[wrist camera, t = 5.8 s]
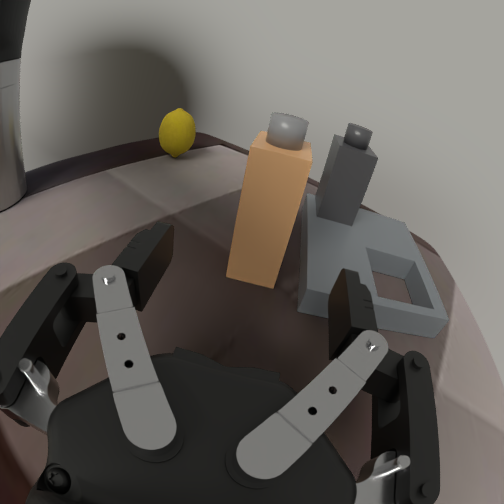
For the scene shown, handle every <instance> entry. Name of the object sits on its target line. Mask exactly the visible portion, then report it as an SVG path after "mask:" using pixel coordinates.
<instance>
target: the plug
mask: <svg viewBox="0 0 504 504" xmlns="http://www.w3.org/2000/svg"><path fill="white" fill-rule="evenodd" d="M308 124H309V122H308V121H306V120H304V119H302V118H299V117H296V116H293V115H288V114H283V113H272V114H271V119H270V123H269V128H268V132H264V131H260V133H259V134H258V136H257V137H256V139H255V140H254V142H253V143H252V145H251V146H250V151H249V156H248V161H247V166H246V171H245V176H244V181H243V186H242V191H241V197H240V202H239V207H238V213H237V218H236V223H235V229H234V234H233V240H232V245H231V251H230V256H229V262H228V267H227V273H226V277H228V278H232V279H236V280H240V281H244V282H248V283H252V284H256V285H260V286H264V287H268V288H272V289H273V288H274V285H275V282H276V279H277V276H278V273H279V270H280V267H281V263H282V260H283V257H284V254H285V251H286V248H287V245H288V241H289V238H290V235H291V232H292V229H293V225H294V222H295V219H296V216H297V212H298V209H299V206H300V202H301V199H302V196H303V192H304V189H305V186H306V182H307V179H308V175H309V172H310V169H311V165H312V152H311V143H309V142H305V141H304V139H305V135H306V131H307V127H308Z"/></svg>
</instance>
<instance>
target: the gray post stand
mask: <svg viewBox="0 0 504 504" xmlns="http://www.w3.org/2000/svg"><path fill="white" fill-rule="evenodd" d="M371 136H372V131H371V130H369V129H367V128H364V127H362V126H359V125H356V124H352V123H349V124H348V127H347V130H346V134H345V137H341V136H338V135H334V137H333V141H332V144H331V148H330V151H329V154H328V158H327V161H326V164H325V167H324V171H323V174H322V177H321V180H320V183H319V187H318V190H317V193H316V195H312V194H309V193H307V195H306V199H305V202H304V205H303V208H302V219H301V248H300V271H299V290H298V306H297V312H302V313H306V314H311V315H315V316H320V317H324V318H328V299H329V295H330V292H331V290H332V288H333V286H334V284H335V282H336V280H337V277H338V275H339V273H340V271H341V270H342V269H343V268H345V269H349V270H353V271H357V272H358V273H359V277H360V283H361V284H365V285H366V286H367V288H368V289H369V291H370V292H371V296H372V301H373V302H372V303H373V306H374V309H373V310H374V312H375V317H376V323H377V328H379V329H384V330H389V331H395V332H400V333H406V334H412V335H418V336H424V337H430V338H435V337H436V335H437V334H438V333H439V332H440V331H441V330H442V328H443V327H444V326H445V325H446V323H447V322H448V321H449V318H448V316H447V313H446V311H445V308H444V306H443V303H442V301H441V298H440V296H439V293H438V291H437V289H436V286H435V284H434V282H433V279H432V277H431V275H430V273H429V271H428V268H427V266H426V264H425V262H424V260H423V258H422V256H421V254H420V252H419V250H418V248H417V246H416V244H415V242H414V240H413V238H412V236H411V234H410V232H409V230H408V228H407V226H406V224H405V223H404V222H401V221H398V220H395V219H392V218H389V217H386V216H383V215H380V214H377V213H374V212H371V211H367V210H364V209H361V208H360V205H361V202H362V200H363V197H364V195H365V192H366V190H367V187H368V184H369V182H370V179H371V176H372V174H373V171H374V168H375V165H376V163H377V160H378V157H377V156H376V155H375V153H374V152H373V151H372V150H371V148H370V147H369V146H368V145H369V142H370V139H371ZM372 271H375V272H379V273H382V274H386V275H390V276H394V277H398V278H401V279H404V280H405V283H406V286H407V288H408V291H409V294H410V297H411V301H412V304H413V305H412V304H408V303H404V302H399V301H395V300H391V299H386V298H382V297H378V295H377V291H376V287H375V282H374V278H373V274H372Z"/></svg>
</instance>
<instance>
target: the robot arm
mask: <svg viewBox="0 0 504 504" xmlns="http://www.w3.org/2000/svg"><path fill="white" fill-rule="evenodd" d="M30 2H31V0H0V211H2V210H4V209H6V208H8V207H10V206H11V205H13V204H14V203H16V202H17V201H18V200H20V199H21V198H22V197H23V196H24V194H25V193H26V191H27V184H26V175H25V170H24V162H23V152H22V142H21V128H20V101H19V99H20V98H19V97H20V95H19V94H20V64H21V59H19V58H21V50H22V43H23V38H24V32H25V26H26V20H27V15H28V10H29V6H30ZM173 239H174V226H173V225H171V224H167V223H163V222H159V221H158V222H157V223H156V224H155V225H154V226H153V228H152V229H151V230H147V229H145V230H143V231H141V232H139V233H137V234H136V235H135V237H134V238H133V239H132V240H131V242H130V243H129V244H128V245H127V247H126V248H125V249H124V250H123V251H122V252H121V254H120V255H119V256H118V257H117V259H116V260H115V261H114V262H113V264H112V265H107V266H103V267H101V268H99V269H97V270H96V271H95V273H94V274H80V273H77V271H76V268H75V266H74V265H72V264H70V263H59V264H57V265H55V266H53V267H52V268H51V269H50V270H49V271H48V272H47V274H46V275H45V276H44V277H43V279H42V280H41V281H40V282H39V284H38V285H37V286H36V288H35V289H34V290H33V292H32V293H31V294H30V296H29V297H28V298H27V300H26V301H25V302H24V304H23V305H22V306H21V308H20V309H19V311H18V312H17V314H16V315H15V316H14V318H13V319H12V321H11V322H10V324H9V325H8V327H7V328H6V330H5V331H4V333H3V334H2V336H1V338H0V410H1V411H3V412H4V413H5V414H6V415H7V416H8V417H10V418H12V419H13V420H14V421H16V422H17V423H18V424H19V425H21V426H24V427H28V426H31V427H33V428H35V429H36V430H38V431H40V432H42V433H44V434H45V435H47V436H48V457H47V463H46V467H45V469H44V471H43V473H42V474H41V476H40V477H39V479H38V480H37V482H36V483H35V485H34V486H33V487H32V489H31V491H30V493H29V495H28V497H27V500H26V503H25V504H433V503H434V502H435V501H436V500H437V498H438V496H439V492H440V457H439V439H438V427H437V416H436V408H435V399H434V392H433V385H432V379H431V373H430V367H429V363H428V361H427V359H426V358H425V357H424V356H423V355H422V354H421V353H419V352H417V351H409V352H407V353H406V354H405V355H404V356H402V355H400V354H398V353H396V352H394V351H392V350H390V349H389V348H388V344H387V341H386V340H385V338H384V337H383V336H382V335H381V334H379V333H378V329H377V323H376V317H375V312H374V310H373V309H374V306H373V303H372V302H373V301H372V296H371V292H370V291H369V289H368V288H367V286H366V285H365V284H361V283H360V277H359V273H358V272H357V271H353V270H349V269H345V268H343V269H342V270H341V271H340V273H339V275H338V277H337V280H336V282H335V284H334V286H333V288H332V290H331V292H330V295H329V299H328V324H329V360H333V361H332V362H331V363H330V364H329V365H328V366H327V367H326V368H325V369H324V370H323V371H322V372H321V373H320V374H319V375H318V376H317V377H316V378H315V379H314V380H313V381H311V382H310V383H309V384H308V385H307V386H306V387H305V388H304V389H303V390H302V391H301V392H300V393H297V392H296V391H294V390H293V389H292V388H291V387H290V386H288V385H287V384H285V383H283V382H281V381H279V376H280V373H277V372H273V371H268V370H263V369H259V368H249V367H226V366H223V365H221V364H219V363H217V362H215V361H213V360H212V359H210V358H208V357H206V356H204V355H202V354H199V353H196V352H192V351H189V350H186V349H182V348H179V347H176V348H175V351H174V353H173V354H171V353H167V354H157V355H153V356H150V355H149V352H148V349H147V346H146V343H145V340H144V337H143V334H142V330H141V327H140V324H139V321H138V317H137V314H136V310H138V311H141V312H142V311H143V309H144V307H145V305H146V304H147V302H148V300H149V298H150V297H151V295H152V293H153V291H154V290H155V288H156V286H157V284H158V283H159V281H160V279H161V278H162V276H163V274H164V272H165V271H166V269H167V267H168V266H169V264H170V262H171V259H172V255H173ZM86 322H97V323H98V328H99V333H100V339H101V344H102V349H103V353H104V358H105V362H106V367H107V371H108V375H109V378H107V379H105V380H103V381H101V382H99V383H97V384H95V385H93V386H91V387H89V388H87V389H85V390H83V391H81V392H79V393H77V394H75V395H73V396H71V397H69V398H67V399H65V400H63V401H61V402H60V403H59V404H57V400H58V395H59V385H58V382H57V381H56V378H57V376H58V374H59V372H60V370H61V368H62V366H63V364H64V362H65V360H66V358H67V356H68V354H69V352H70V350H71V349H72V347H73V345H74V343H75V341H76V339H77V337H78V336H79V334H80V332H81V330H82V328H83V327H84V325H85V323H86ZM360 390H363V391H365V392H367V393H370V394H372V440H371V460H369V461H367V462H366V463H365V464H364V465H363V466H362V468H361V470H360V474H359V477H358V479H357V481H355V478H354V476H353V474H352V473H351V471H350V470H349V468H348V467H347V465H346V464H345V462H344V461H343V460H342V458H341V457H340V455H339V454H338V452H337V451H336V449H335V448H334V446H333V445H332V443H331V442H330V440H329V439H328V437H327V436H326V434H325V433H324V431H325V430H326V429H327V428H328V427H329V426H330V425H331V423H332V422H333V421H334V420H335V419H336V418H337V417H338V416H339V415H340V413H341V412H342V411H343V410H344V409H345V408H346V406H347V405H348V404H349V403H350V402H351V401H352V399H353V398H354V397H355V396H356V395H357V393H358V392H359V391H360Z"/></svg>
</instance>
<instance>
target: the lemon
mask: <svg viewBox="0 0 504 504" xmlns="http://www.w3.org/2000/svg"><path fill="white" fill-rule="evenodd" d="M194 139H195V123H194V120H193V118H192V116H191V115H190V114H189V113H187V112H185V111H183V109H182V108H178V109H177V110H175V111H173V112H170V113H169V114H167V115H166V116H165V117H164V119H163V121H162V123H161V126H160V129H159V141H160V144H161V147H162V148H163V149H164V150H165V151H166V152H167V153H169V154H171V155H172V157H174V158H176V157H178V156H179V155H180V154H183V153H185V152H186V151H188V150H189V149H190V147H191V146H192V144H193V142H194Z"/></svg>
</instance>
